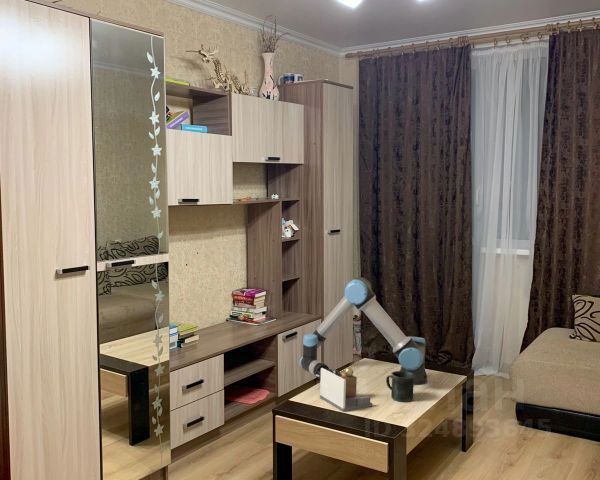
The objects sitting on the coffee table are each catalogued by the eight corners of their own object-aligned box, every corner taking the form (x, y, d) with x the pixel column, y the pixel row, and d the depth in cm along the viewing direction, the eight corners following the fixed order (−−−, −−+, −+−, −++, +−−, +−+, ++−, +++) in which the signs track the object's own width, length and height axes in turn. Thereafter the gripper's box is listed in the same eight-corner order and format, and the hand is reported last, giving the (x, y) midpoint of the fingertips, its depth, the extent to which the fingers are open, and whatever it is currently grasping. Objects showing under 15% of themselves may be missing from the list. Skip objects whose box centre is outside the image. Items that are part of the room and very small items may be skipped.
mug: (406, 404, 286) (407, 379, 285) (380, 397, 295) (380, 372, 294) (418, 398, 294) (419, 374, 293) (392, 391, 304) (393, 368, 303)
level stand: (320, 398, 292) (320, 368, 291) (348, 393, 300) (348, 364, 299) (343, 411, 275) (344, 380, 273) (372, 406, 282) (373, 375, 281)
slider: (339, 394, 292) (340, 366, 291) (350, 392, 295) (351, 365, 294) (345, 397, 288) (346, 369, 287) (356, 395, 291) (356, 368, 290)
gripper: (329, 375, 318) (355, 388, 297) (307, 378, 311) (332, 392, 291) (330, 360, 317) (355, 373, 296) (308, 363, 311) (333, 377, 290)
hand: (344, 382), depth 294 cm, fingers closed
